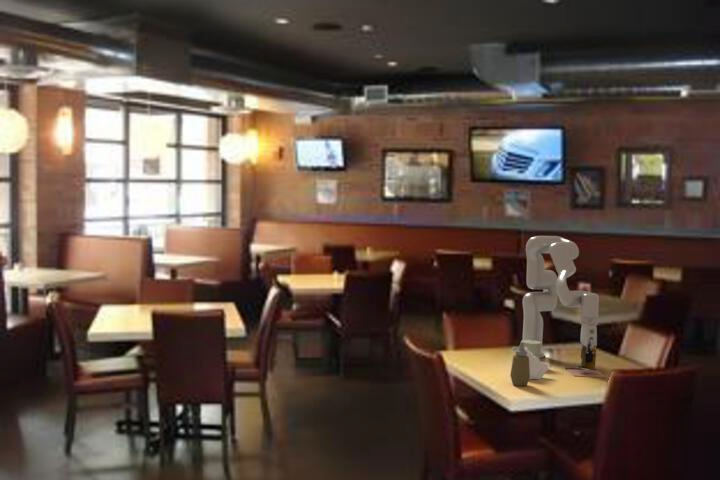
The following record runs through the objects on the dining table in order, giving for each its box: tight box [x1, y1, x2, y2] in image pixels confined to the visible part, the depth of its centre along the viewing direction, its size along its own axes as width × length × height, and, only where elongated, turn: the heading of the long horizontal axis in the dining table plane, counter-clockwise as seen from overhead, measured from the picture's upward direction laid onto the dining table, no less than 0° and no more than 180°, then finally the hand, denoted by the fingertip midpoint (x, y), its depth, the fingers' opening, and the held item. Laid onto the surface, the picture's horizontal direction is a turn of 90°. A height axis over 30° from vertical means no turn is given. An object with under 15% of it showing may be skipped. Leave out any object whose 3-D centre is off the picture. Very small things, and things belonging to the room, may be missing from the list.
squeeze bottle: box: [509, 341, 531, 387], centre depth 325 cm, size 8×8×18 cm
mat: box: [566, 369, 606, 378], centre depth 351 cm, size 14×12×1 cm
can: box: [520, 339, 541, 361], centre depth 362 cm, size 9×9×12 cm
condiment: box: [574, 345, 599, 370], centre depth 350 cm, size 7×8×12 cm
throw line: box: [565, 366, 597, 370], centre depth 359 cm, size 14×2×1 cm, turn 90°
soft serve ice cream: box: [524, 347, 549, 381], centre depth 339 cm, size 12×15×14 cm
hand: (586, 360), depth 351 cm, fingers closed on condiment, 6 cm apart
